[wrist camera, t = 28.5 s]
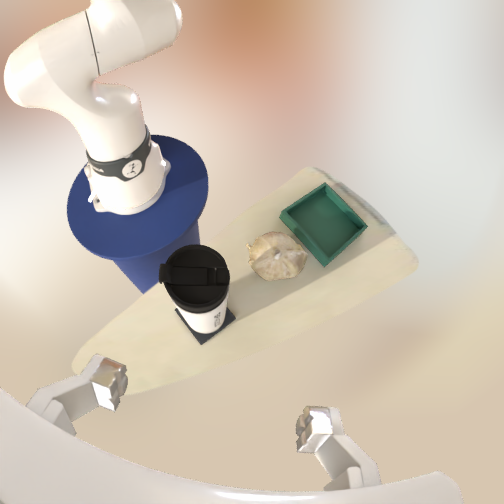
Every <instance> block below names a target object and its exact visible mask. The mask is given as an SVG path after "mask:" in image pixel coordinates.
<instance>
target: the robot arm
mask: <svg viewBox="0 0 504 504" xmlns="http://www.w3.org/2000/svg"><path fill="white" fill-rule="evenodd" d="M90 1H91V5H90V7H89V8H88V9H85V11H82V12H80V13H77V14H75V15H72V16H70V17H68V18H65V19H63V20H61V21H59V22H56V23H54V24H52V25H50V26H48V27H46V28H44V29H42V30H40V31H38V32H37V33H36V34H34V35H33V36H31V37H30V38H29V39H27V40H26V41H25V42H24V43H22V44H21V45H20V46H19V47H18V48H17V49H15V50H14V51H13V52H12V53H11V54H10V56H9V58H8V61H7V64H6V67H5V72H4V84H5V89H6V91H7V94H8V95H9V97H10V98H11V99H12V100H13V101H14V102H15V103H16V104H18V105H20V106H23V107H27V108H44V109H48V110H51V111H54V112H57V113H59V114H60V115H62V116H64V117H65V118H67V119H68V120H69V121H70V122H71V123H72V124H73V125H74V127H75V128H76V130H77V132H78V134H79V135H80V137H81V139H82V141H83V143H84V145H85V147H86V154H87V158H88V161H89V162H88V163H87V166H86V167H85V168H84V170H85V173H86V176H87V177H88V179H89V183H90V189H91V196H90V198H89V199H88V200H89V202H91V201H92V199H93V204H94V208H95V210H96V211H97V212H107V211H109V212H113V213H116V214H120V215H131V214H135V213H139V212H141V211H143V210H145V209H147V208H149V207H150V206H151V205H153V204H154V203H155V202H156V201H157V200H158V199H159V197H160V196H161V194H162V192H163V190H164V187H165V180H166V176H167V174H168V172H169V171H170V169H171V165H170V162H169V161H167V160H166V159H164V158H163V157H162V155H161V151H160V148H159V145H158V144H156V143H154V142H153V141H151V136H150V132H149V131H148V128H147V126H146V125H145V123H144V118H143V112H142V107H141V102H140V98H139V96H138V95H137V93H136V92H135V91H134V90H133V89H131V88H129V87H127V86H124V85H121V84H106V83H100V82H97V81H95V79H96V78H98V77H99V76H101V75H103V74H106V73H108V72H111V71H113V70H116V69H118V68H121V67H124V66H127V65H129V64H132V63H135V62H138V61H141V60H144V59H146V58H148V57H150V56H152V55H154V54H156V53H158V52H160V51H162V50H164V49H167V48H168V47H171V46H172V45H173V44H174V42H175V41H176V40H177V38H178V36H179V34H180V31H181V28H182V21H183V20H182V13H181V9H180V7H179V5H178V4H177V2H176V1H175V0H90ZM99 201H100V202H99ZM126 371H127V369H126V365H123V364H121V363H118V362H116V361H113V360H111V359H109V358H106V357H104V356H101V355H99V354H95V355H94V356H93V357H92V359H91V360H90V361H89V363H88V364H87V365H86V367H85V368H84V370H83V371H82V372H81V374H80V375H74V376H72V377H69V378H66V379H64V380H61V381H58V382H56V383H53V384H50V385H47V386H45V387H42V388H39V389H38V390H37V391H36V392H35V394H34V395H33V397H32V398H31V399H30V401H29V402H28V403H27V405H26V406H24V405H23V404H21V403H20V402H19V401H17V400H16V399H14V398H13V397H12V396H11V395H9V394H8V393H7V392H6V391H4V390H3V389H2V388H1V387H0V504H464V502H463V498H462V494H461V491H460V488H459V486H458V484H457V483H456V482H455V481H454V480H452V479H451V478H450V477H448V476H447V475H445V474H444V473H442V472H440V471H436V472H432V473H429V474H425V475H422V476H418V477H414V478H410V479H406V480H402V481H398V482H392V483H387V484H381V479H380V475H379V471H378V467H377V464H376V463H375V462H374V461H373V460H372V459H371V458H370V457H369V456H368V455H367V454H366V453H365V452H364V451H363V450H362V449H361V448H360V447H359V446H358V445H357V444H356V443H355V442H354V441H353V440H352V439H351V438H350V437H349V436H348V435H345V434H344V429H343V425H342V420H341V416H340V411H339V409H338V408H331V407H318V406H306V407H305V408H304V410H303V413H304V414H302V415H300V416H299V418H298V420H297V423H296V434H297V435H298V436H299V438H298V440H297V441H296V442H297V452H300V453H315V454H314V455H315V456H316V457H317V459H318V460H319V462H320V463H321V464H322V466H323V467H324V468H325V470H326V471H327V473H328V474H329V475H330V477H331V478H332V479H333V481H332V482H330V483H329V484H327V485H326V486H325V487H324V491H316V492H285V491H265V490H253V489H244V488H236V487H229V486H223V485H217V484H211V483H205V482H201V481H196V480H191V479H187V478H183V477H179V476H175V475H171V474H168V473H165V472H161V471H158V470H155V469H151V468H148V467H145V466H142V465H139V464H137V463H134V462H131V461H128V460H126V459H123V458H120V457H118V456H116V455H113V454H111V453H108V452H106V451H104V450H102V449H99V448H97V447H95V446H93V445H91V444H89V443H86V442H84V441H83V440H81V439H79V438H77V437H75V435H76V431H75V429H74V427H73V425H72V423H71V422H73V421H74V420H76V419H78V418H80V417H81V416H83V415H85V414H87V413H88V412H90V411H92V410H94V409H95V408H97V407H98V405H99V406H101V407H104V408H106V409H109V410H111V411H114V412H115V411H116V409H117V407H118V405H119V403H120V398H119V397H120V396H122V395H124V393H125V391H126V388H127V385H128V377H127V376H126V374H125V373H126Z"/></svg>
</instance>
